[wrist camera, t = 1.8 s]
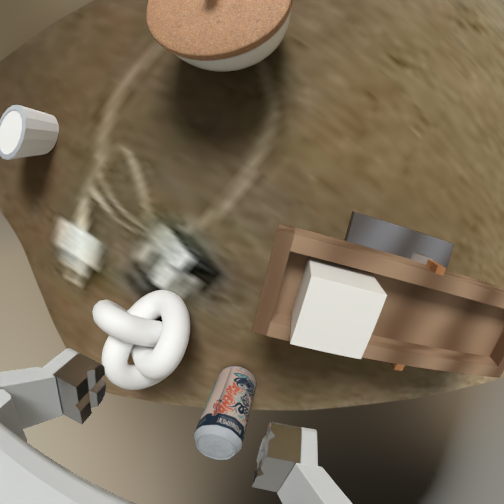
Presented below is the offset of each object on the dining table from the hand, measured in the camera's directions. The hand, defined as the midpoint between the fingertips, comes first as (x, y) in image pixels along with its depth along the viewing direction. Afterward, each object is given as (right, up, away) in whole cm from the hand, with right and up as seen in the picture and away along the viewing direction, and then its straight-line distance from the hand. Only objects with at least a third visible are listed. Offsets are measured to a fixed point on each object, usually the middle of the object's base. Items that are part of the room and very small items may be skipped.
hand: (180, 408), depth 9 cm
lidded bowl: (+1, +28, +19) cm, 34 cm away
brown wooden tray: (+17, +2, +22) cm, 28 cm away
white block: (+8, +2, +14) cm, 17 cm away
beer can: (+1, -11, +28) cm, 30 cm away
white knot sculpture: (-9, -4, +28) cm, 29 cm away
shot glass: (-26, +21, +24) cm, 41 cm away
